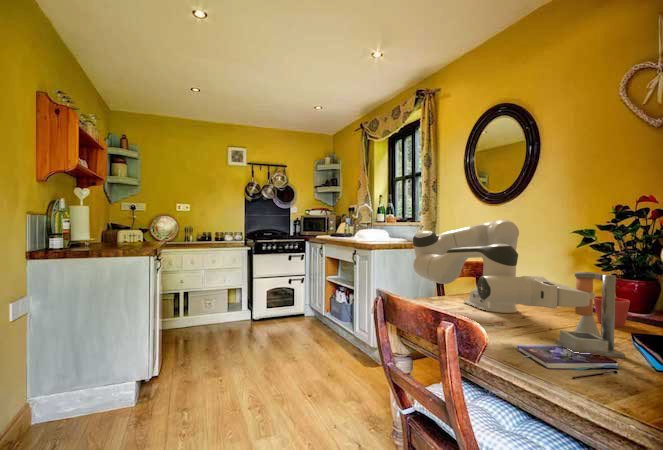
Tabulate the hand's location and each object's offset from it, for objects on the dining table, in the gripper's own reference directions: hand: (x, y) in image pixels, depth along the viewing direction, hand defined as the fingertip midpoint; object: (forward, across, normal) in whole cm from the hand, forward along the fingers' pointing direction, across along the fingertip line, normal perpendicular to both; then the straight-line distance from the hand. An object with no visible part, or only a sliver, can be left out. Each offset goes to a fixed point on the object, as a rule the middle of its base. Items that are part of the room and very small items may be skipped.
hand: (587, 294), depth 100 cm
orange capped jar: (-1, 0, -6) cm, 6 cm away
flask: (+9, -16, -17) cm, 25 cm away
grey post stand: (+1, -3, -16) cm, 17 cm away
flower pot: (+27, -34, -16) cm, 46 cm away
